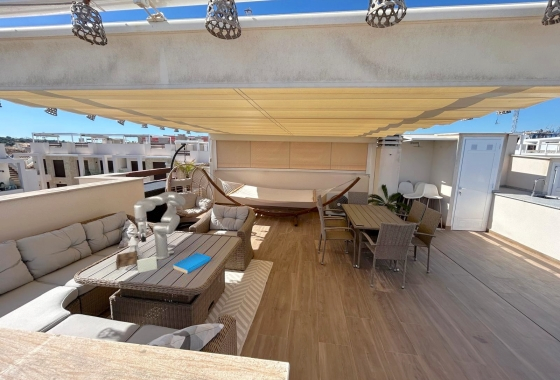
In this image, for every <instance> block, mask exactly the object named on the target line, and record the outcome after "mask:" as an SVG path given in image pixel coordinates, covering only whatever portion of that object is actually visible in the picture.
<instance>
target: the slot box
mask: <svg viewBox="0 0 560 380" xmlns="http://www.w3.org/2000/svg"><path fill="white" fill-rule="evenodd" d="M138 257H139V255H137V251H133V252H129V251H128V252H124V253H119V254H117V255H116V259H115V266H116V271H119V270H120V268H124V267H128V266H133V265H135V267H138V266H137V260H139V258H138Z"/></svg>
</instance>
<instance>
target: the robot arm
mask: <svg viewBox="0 0 560 380" xmlns="http://www.w3.org/2000/svg"><path fill="white" fill-rule="evenodd" d="M186 202H187V201H186V198H185V197H184V196H182V194H180V193H178V191H177V192H175V191H165V192H162V193H160V194H157V195H154V196H153V195H152V196H150V197H145V198H141V199H139V200H138V201H137V202H136V203H135V204H134V205H133V213H134V221H135V223H136V224H137V228H138V233H139V235H140V242H141V243H146V242H147V237H146V234H148V232H147V231H148V229H147V224H146V223H147V221H148V220H147V219H148V218H147V212H151V211H153V210H154V209H155V208H156V206H161V205H163V204H166V203H167V209H166V211H165V212H164V213H163V215H162V217H161V219H160V222H156V223H154V224H153V225H152V232H153V234H154V242H155V243H154V245H155V255H154V257H155V256H156V261H157V260H166V259H168V258H170V256H171V254H174V253H175V252H174V250H169V247H168V246H169V245H168V236H167V235H171V234H172V233H174V231H175V230H176V229H177V227H178V225H179V224H180V221H181V218H180V215H179V214H177V213H178V212H177V208H176V207H184V206H185V205H186Z"/></svg>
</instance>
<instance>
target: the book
mask: <svg viewBox="0 0 560 380" xmlns="http://www.w3.org/2000/svg"><path fill="white" fill-rule="evenodd" d="M210 260H211V261H212V257H211V256H209V255H206V254H203V253H199V252H195V253H194V254H191V255H190V256H189V255H188V256H187V257H185V258H183V259H181V260H179V261H177V262H175V263H173V264H172V266H173V269H174V270H177V271H178V272H182V273H184V274H187V275H188V274H190V273H191V272H193V271H195V270H197V269H198V268H200V267H201V266H203V264H204V265H205V264H207V263H210V262H211V261H210Z"/></svg>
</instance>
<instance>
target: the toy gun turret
mask: <svg viewBox="0 0 560 380" xmlns="http://www.w3.org/2000/svg"><path fill="white" fill-rule="evenodd" d="M136 235H137V234H134V235H132V236H131V238H130V240H129V239H128V238H127V239H125V242H126V243H128V244H127V246H128V247H129V251H128V252H133V251H137V256H141V255H143V253H144V252H143V251H142V250H141V249H140V248H139V242H140V239H139V238H138V237H136Z"/></svg>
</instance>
